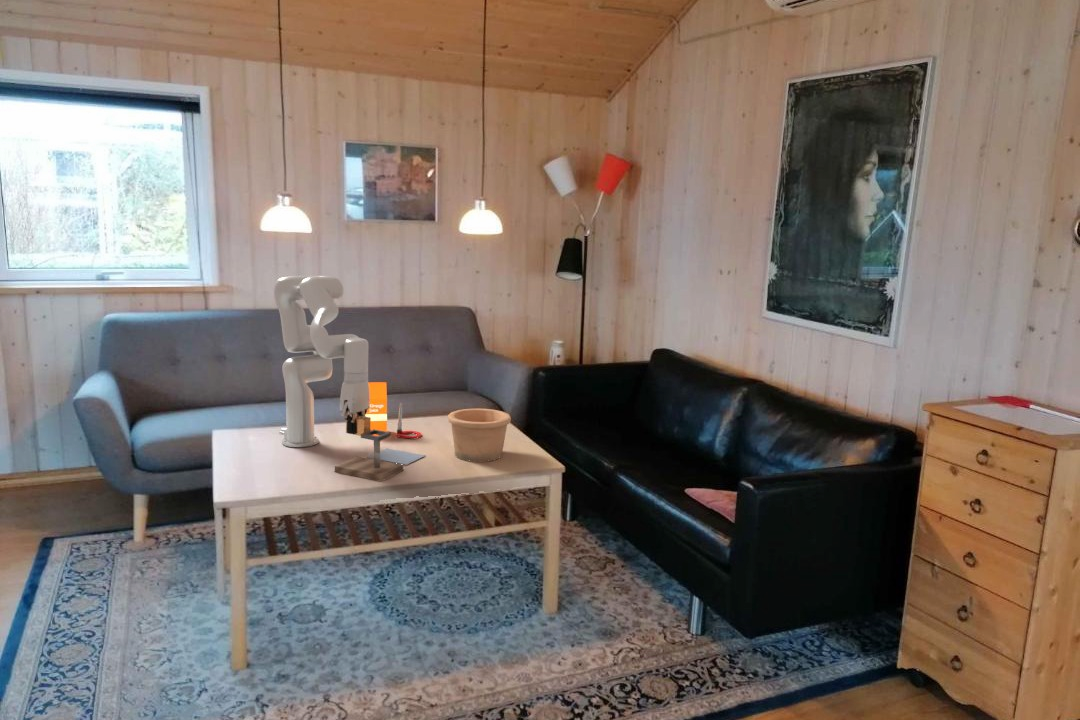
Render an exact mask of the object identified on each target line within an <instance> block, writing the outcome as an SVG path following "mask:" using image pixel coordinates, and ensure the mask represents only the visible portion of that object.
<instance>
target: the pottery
mask: <svg viewBox="0 0 1080 720" xmlns="http://www.w3.org/2000/svg"><path fill="white" fill-rule="evenodd" d="M447 420H448V423H450V424H451V431H452V440H453V447H454V449H453V450H454V455H455V457H456V456H457V457H456V458H458V459H459V458H461V459H460V460H462V459H464V460H463V461H465V460H470V461H469V462H471V461H487V462H491V461H490V460H493V461H495V460H494V459H497V458H499V457H500V458H501V457H502V456H503V451H504V445H505V438H506V432H507V428H508V425H509V424H510V422H511V420H512V417H511V415H510V414H509V413H507V412H505V411H502V410H496V409H491V408H477V407H476V408H463V409H458V410H454V411H451V412H450V413H449V414H448V415H447ZM501 455H502V456H501ZM500 458H499V459H500ZM488 460H489V461H488ZM497 460H498V459H497Z"/></svg>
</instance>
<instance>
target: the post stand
mask: <svg viewBox="0 0 1080 720" xmlns="http://www.w3.org/2000/svg"><path fill="white" fill-rule="evenodd" d="M380 451H381V441H374V440H373V454H374V459H369V458H367V457H362V456H356V457H353V458H350V459H348V460H346V461H343V462H341V463H339V464H336V465H334V473H336V474H337V473H339V474H342V475H348V476H352V477H359V478H362V479H367V480H368V479H369V480H373V481H378V482H383V481H385V480H387V479H389V478H391V477H393V476H395V475H397V474H399V473H401V472H403V471H404V465H401V464H396V463H390V462H385V461H380Z"/></svg>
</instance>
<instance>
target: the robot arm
mask: <svg viewBox="0 0 1080 720" xmlns="http://www.w3.org/2000/svg"><path fill="white" fill-rule="evenodd" d="M343 295H344V286H343V283H342V282H341V280H340V279H339V278H338V277H336V276H331V275H330V276H329V275H289V276H284V277H280V278H278V279H277V280H276V281H275V283H274V286H273V298H274V302H275V304H276V306H277V309H278V311H279V315H280V325H281V334H282V341H283V345H284V348H285V350H286V351H287V352H288V353H295V354H297V353H308V352H309V353H310V352H313V354H312V355H311V354H310V355H298V356H292V357H290V358H287V359H286V360H284V362H283V364H282V367H281V368H282V369H281V370H282V376H283V380H284V388H285V389H284V390H285V415H286V418H285V420H286V421H285V423H286V428H285V427H282V428H281V430H280V431H278V434H279V435H280V436H284V438H283V439H282V440H281V443H282V445H283V446H285V447H290V448H305V447H306V448H307V447H312V446H315V445H317V444H318V443H319V438H318V437H317V436H315V397H314V392H313V390H312V389H311V388H310V387H309V385H308V383H313V382H320V381H326V380H328V379H330V378H331V377H332V376H333V375H332V374H333V371H334V370H333V360H334V359H341V358H342V359H343V382H342V384H341V388H340V389H341V390H340V395H339V396H340V398H339V411H340V412H341V413H340V416H341V417H342V418H344V419H345V423H346V422H347V433H346V434H348V433H349V435H353V434H356V422H355V415H360V416H365V414H366V412H367V410H368V409H369V408H370V406H369V402H370V394H369V341H368V340H367V339H365V338H362V337H359V336H358V335H357V334H354V333H345V334H330V335H329V332H328V331H327V329H326V327H324V326H326V325H328V324H329V323H331V322H333V321H334V320H335V319H337V317H338V315H339V312H340V311H339V307H338V306H337V304H336V301H339V300H341V299H342V297H343ZM298 301H304V302H305V304H306V306H307V308H308V310H309V313H311V315H312V318H313V319H312V321H311V323H310V324H308V323H307V316H306V312H305V310H304V309H303V306H301V305H300V303H299V302H298ZM350 415H352V417H351V416H350Z"/></svg>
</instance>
